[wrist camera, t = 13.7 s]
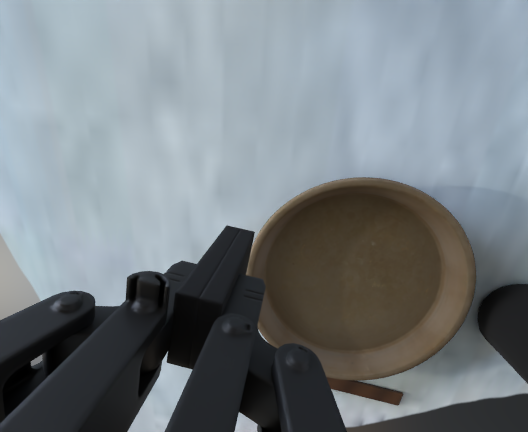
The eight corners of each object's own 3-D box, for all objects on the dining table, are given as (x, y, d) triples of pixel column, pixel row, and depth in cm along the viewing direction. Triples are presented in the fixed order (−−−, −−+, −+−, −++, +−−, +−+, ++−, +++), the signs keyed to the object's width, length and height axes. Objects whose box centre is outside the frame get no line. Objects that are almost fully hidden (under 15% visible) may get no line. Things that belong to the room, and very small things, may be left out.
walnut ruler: (227, 361, 51) (226, 362, 50) (229, 349, 50) (229, 351, 50) (397, 403, 49) (398, 405, 49) (402, 392, 49) (403, 394, 48)
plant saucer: (501, 213, 39) (527, 223, 35) (404, 383, 48) (415, 408, 44) (284, 144, 40) (283, 146, 35) (227, 326, 49) (220, 345, 44)
